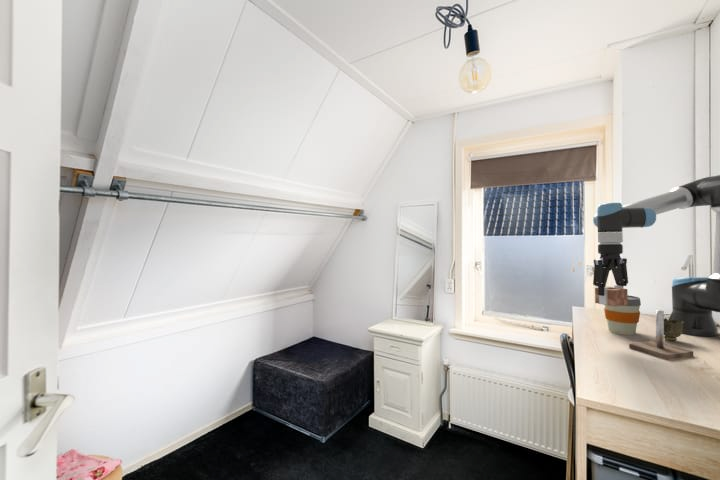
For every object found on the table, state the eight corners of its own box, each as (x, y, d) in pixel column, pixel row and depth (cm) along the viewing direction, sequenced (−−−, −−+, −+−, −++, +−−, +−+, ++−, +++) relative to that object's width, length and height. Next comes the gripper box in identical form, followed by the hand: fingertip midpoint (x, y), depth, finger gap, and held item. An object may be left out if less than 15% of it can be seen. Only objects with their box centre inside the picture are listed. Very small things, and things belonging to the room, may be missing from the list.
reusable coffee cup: (601, 331, 139) (600, 297, 138) (606, 325, 147) (605, 293, 147) (639, 338, 130) (639, 300, 130) (642, 331, 138) (642, 296, 138)
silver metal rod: (658, 346, 115) (658, 309, 115) (665, 348, 114) (665, 311, 113) (654, 346, 115) (654, 310, 115) (661, 348, 113) (660, 311, 113)
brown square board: (653, 344, 122) (653, 340, 122) (693, 356, 110) (693, 351, 110) (629, 348, 119) (629, 343, 119) (667, 359, 107) (667, 355, 107)
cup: (689, 343, 122) (689, 322, 122) (666, 342, 124) (666, 322, 124) (674, 337, 129) (674, 317, 129) (653, 336, 131) (652, 317, 131)
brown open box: (609, 301, 128) (608, 286, 128) (627, 305, 122) (627, 289, 121) (595, 302, 127) (595, 287, 126) (613, 306, 120) (612, 290, 120)
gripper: (619, 242, 130) (620, 299, 130) (580, 244, 125) (581, 303, 125) (640, 242, 123) (641, 303, 123) (599, 244, 118) (600, 307, 118)
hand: (611, 303), depth 124 cm, fingers closed on brown open box, 7 cm apart
